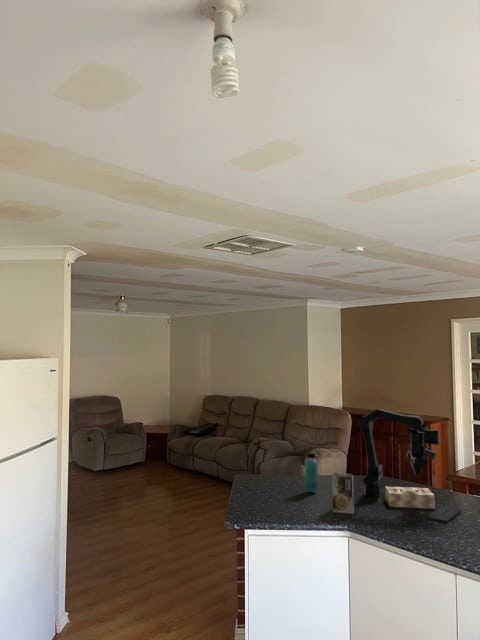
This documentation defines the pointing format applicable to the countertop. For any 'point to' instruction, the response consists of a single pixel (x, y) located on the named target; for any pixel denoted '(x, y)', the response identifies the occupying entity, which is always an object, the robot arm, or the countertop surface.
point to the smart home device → (444, 514)
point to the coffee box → (343, 493)
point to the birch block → (409, 497)
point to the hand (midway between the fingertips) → (417, 475)
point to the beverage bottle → (311, 473)
